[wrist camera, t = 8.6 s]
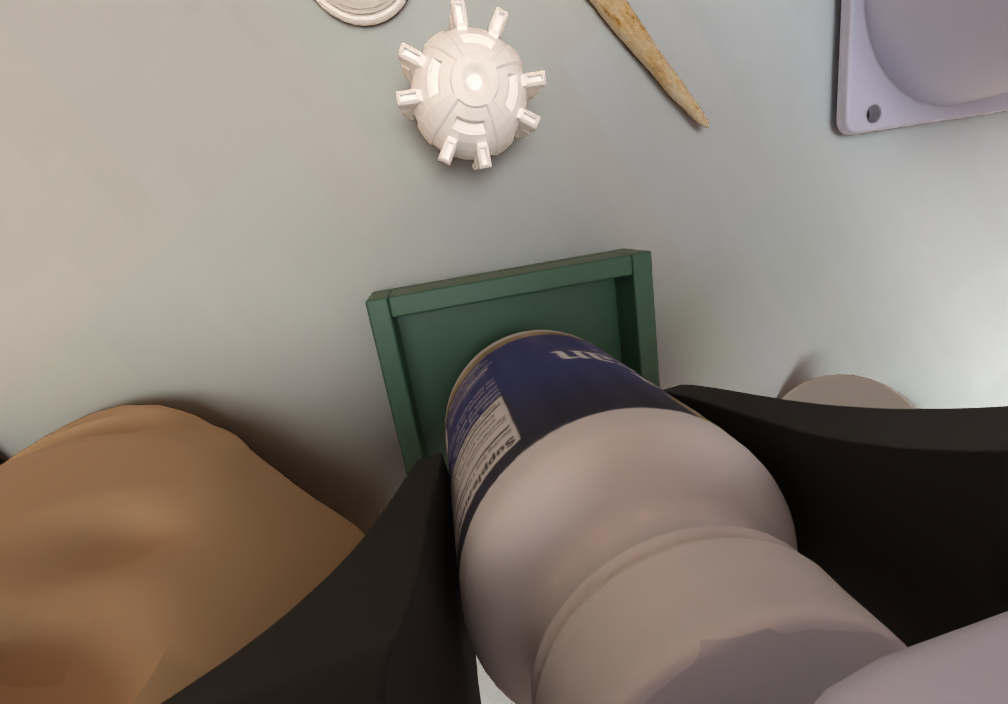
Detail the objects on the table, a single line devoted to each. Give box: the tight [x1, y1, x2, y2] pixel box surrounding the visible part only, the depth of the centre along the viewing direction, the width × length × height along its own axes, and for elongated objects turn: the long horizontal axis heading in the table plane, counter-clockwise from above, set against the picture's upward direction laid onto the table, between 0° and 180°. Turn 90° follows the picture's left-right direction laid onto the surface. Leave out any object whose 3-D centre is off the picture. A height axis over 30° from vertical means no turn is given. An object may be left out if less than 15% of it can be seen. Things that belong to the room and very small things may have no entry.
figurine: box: [782, 374, 915, 409], centre depth 18 cm, size 5×5×12 cm
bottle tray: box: [366, 249, 660, 475], centre depth 15 cm, size 8×8×2 cm
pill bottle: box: [445, 330, 907, 704], centre depth 9 cm, size 5×5×10 cm
